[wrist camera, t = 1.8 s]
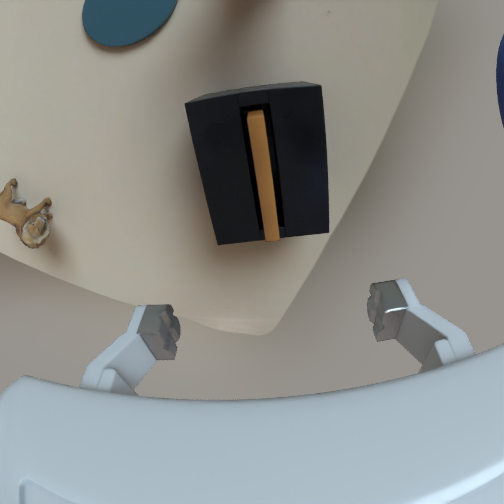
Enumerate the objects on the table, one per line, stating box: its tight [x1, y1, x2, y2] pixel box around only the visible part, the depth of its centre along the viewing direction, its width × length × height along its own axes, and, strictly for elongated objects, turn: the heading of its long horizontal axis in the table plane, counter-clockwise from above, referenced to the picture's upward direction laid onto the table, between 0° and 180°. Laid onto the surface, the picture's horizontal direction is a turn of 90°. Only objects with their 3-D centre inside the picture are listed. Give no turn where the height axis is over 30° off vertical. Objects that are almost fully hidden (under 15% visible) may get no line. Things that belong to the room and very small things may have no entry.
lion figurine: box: [0, 179, 52, 249], centre depth 31 cm, size 15×5×9 cm, turn 67°
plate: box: [82, 0, 177, 47], centre depth 20 cm, size 12×12×1 cm
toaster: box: [185, 82, 329, 245], centre depth 28 cm, size 11×15×9 cm
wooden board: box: [247, 104, 280, 242], centre depth 25 cm, size 1×10×10 cm, turn 8°
